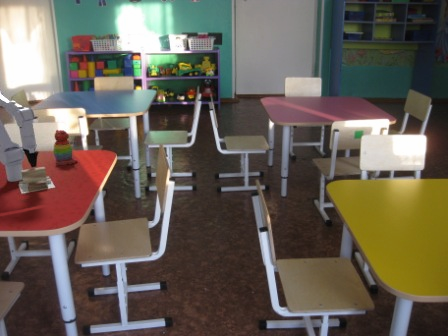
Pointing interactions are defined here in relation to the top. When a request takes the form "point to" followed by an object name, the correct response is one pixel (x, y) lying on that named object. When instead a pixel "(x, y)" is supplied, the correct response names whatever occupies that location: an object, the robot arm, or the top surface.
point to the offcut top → (37, 184)
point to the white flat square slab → (25, 190)
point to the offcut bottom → (37, 188)
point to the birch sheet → (33, 175)
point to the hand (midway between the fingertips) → (32, 164)
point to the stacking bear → (63, 149)
